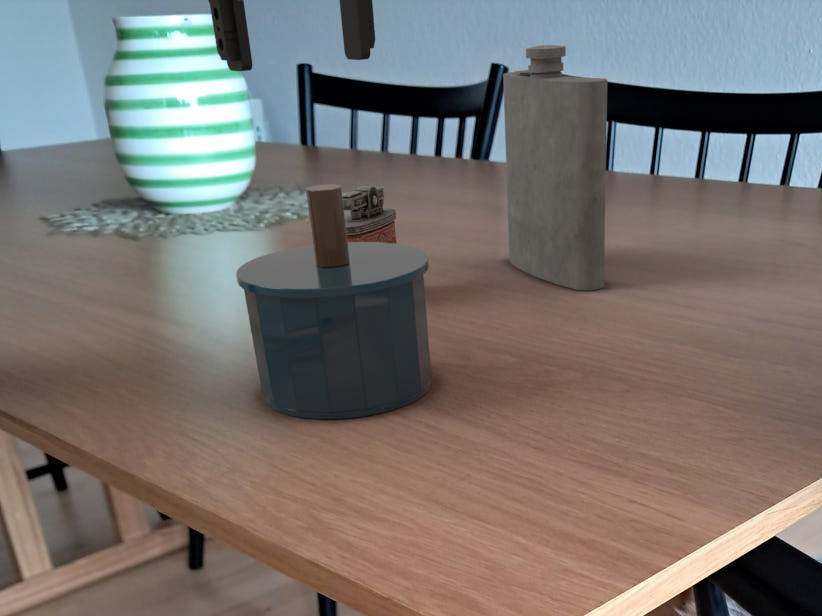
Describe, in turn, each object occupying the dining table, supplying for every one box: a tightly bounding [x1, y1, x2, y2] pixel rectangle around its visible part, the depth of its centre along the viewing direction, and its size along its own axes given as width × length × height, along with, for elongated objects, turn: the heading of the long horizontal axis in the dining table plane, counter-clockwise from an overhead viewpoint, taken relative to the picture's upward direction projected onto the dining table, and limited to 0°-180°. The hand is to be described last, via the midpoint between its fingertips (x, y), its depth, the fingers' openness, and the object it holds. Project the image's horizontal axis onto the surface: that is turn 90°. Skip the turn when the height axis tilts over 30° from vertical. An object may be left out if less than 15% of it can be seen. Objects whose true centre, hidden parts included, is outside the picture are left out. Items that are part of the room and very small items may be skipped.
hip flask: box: [502, 44, 608, 291], centre depth 97 cm, size 16×4×20 cm, turn 26°
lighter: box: [342, 185, 397, 244], centre depth 95 cm, size 8×3×10 cm, turn 154°
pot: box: [243, 274, 432, 420], centre depth 74 cm, size 13×13×8 cm
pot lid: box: [235, 183, 430, 298], centre depth 70 cm, size 14×14×6 cm
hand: (300, 64), depth 65 cm, fingers open, 8 cm apart
